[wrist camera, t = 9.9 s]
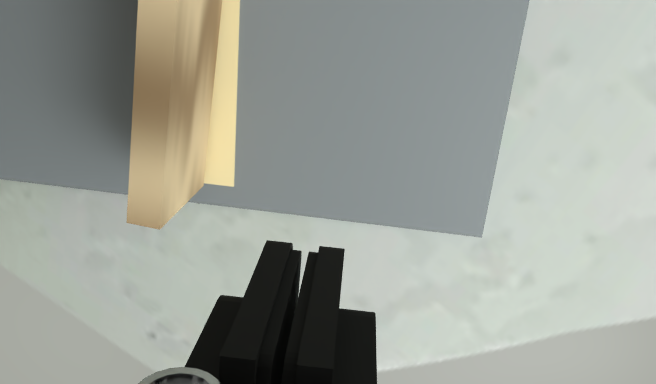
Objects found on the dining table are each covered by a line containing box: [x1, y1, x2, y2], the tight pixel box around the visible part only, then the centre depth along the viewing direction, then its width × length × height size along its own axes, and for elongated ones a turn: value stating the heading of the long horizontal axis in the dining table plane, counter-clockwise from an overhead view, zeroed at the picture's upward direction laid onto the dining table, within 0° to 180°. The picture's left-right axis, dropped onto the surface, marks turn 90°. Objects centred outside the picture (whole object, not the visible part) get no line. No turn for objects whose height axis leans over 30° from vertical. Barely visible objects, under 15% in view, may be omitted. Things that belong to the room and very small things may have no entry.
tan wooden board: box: [127, 0, 222, 229], centre depth 19 cm, size 12×2×5 cm, turn 170°
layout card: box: [0, 0, 529, 237], centre depth 22 cm, size 22×14×1 cm, turn 85°
